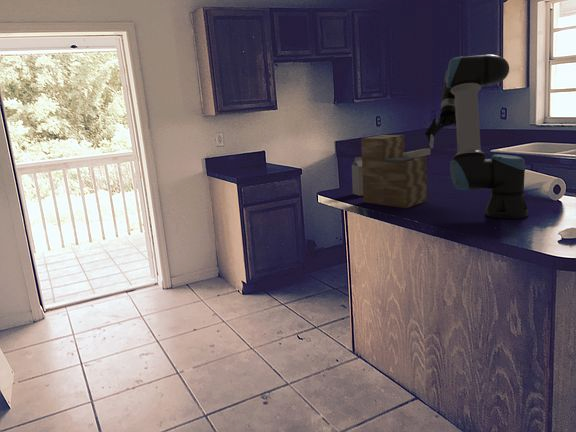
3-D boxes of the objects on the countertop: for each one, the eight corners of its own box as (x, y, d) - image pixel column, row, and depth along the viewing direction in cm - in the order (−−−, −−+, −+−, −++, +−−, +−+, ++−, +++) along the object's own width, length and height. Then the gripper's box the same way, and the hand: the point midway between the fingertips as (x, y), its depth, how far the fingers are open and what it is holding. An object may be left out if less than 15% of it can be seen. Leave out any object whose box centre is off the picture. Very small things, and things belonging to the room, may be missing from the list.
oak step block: (384, 196, 245) (383, 134, 238) (426, 201, 228) (426, 135, 221) (363, 202, 235) (361, 138, 228) (405, 208, 217) (404, 139, 211)
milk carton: (371, 194, 252) (370, 157, 247) (359, 196, 249) (358, 158, 245) (364, 192, 258) (363, 155, 254) (352, 194, 256) (351, 157, 251)
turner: (402, 162, 213) (401, 156, 212) (383, 161, 220) (383, 155, 220) (437, 154, 230) (437, 148, 229) (418, 154, 238) (418, 148, 237)
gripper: (477, 109, 237) (475, 144, 227) (426, 120, 251) (422, 153, 241) (473, 98, 232) (470, 134, 222) (421, 110, 246) (416, 144, 236)
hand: (445, 144), depth 232 cm, fingers open, 13 cm apart
